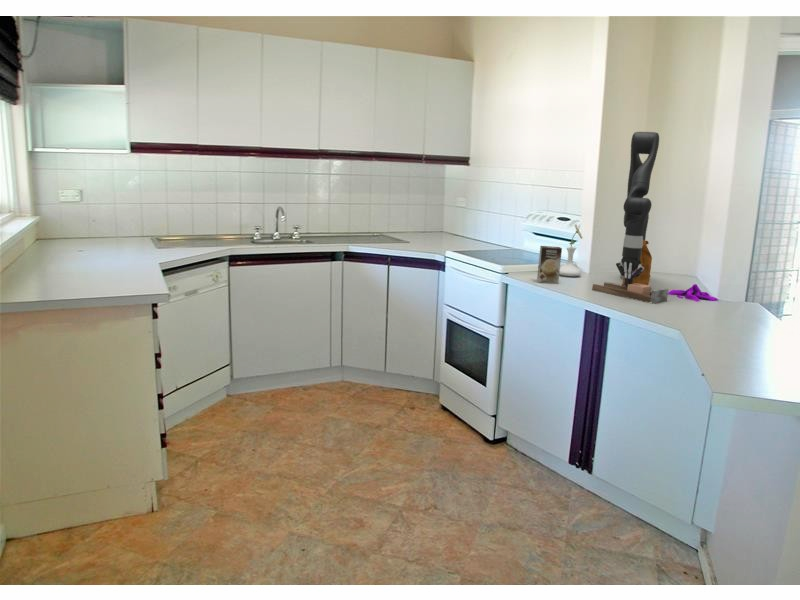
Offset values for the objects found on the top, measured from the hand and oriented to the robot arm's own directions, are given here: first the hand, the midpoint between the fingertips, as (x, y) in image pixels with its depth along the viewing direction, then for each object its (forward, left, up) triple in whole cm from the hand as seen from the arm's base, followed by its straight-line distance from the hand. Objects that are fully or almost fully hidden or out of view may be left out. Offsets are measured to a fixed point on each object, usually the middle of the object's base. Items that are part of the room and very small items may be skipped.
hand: (627, 286), depth 272 cm
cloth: (-23, +17, -4) cm, 29 cm away
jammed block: (0, +5, -4) cm, 6 cm away
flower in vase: (-15, -42, -4) cm, 45 cm away
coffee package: (-18, -8, -4) cm, 20 cm away
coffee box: (+8, -36, -4) cm, 37 cm away
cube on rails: (0, 0, -4) cm, 4 cm away
